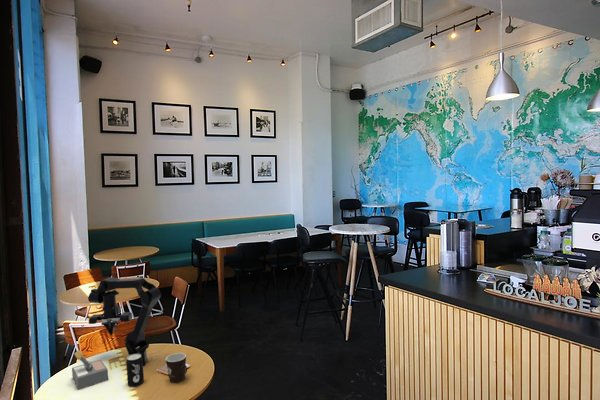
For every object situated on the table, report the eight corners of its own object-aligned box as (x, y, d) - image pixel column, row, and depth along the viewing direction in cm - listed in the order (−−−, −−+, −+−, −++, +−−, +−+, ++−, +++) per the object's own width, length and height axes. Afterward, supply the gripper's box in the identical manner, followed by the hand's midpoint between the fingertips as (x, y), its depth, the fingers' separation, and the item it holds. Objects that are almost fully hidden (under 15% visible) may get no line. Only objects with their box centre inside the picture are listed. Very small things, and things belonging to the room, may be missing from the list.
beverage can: (128, 388, 173) (126, 361, 172) (127, 382, 178) (125, 355, 178) (144, 384, 176) (143, 357, 175) (143, 378, 181) (141, 352, 181)
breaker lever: (91, 363, 185) (78, 349, 181) (93, 367, 181) (80, 353, 177) (87, 367, 184) (74, 353, 180) (89, 371, 180) (76, 357, 176)
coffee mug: (166, 377, 181) (164, 355, 181) (186, 372, 185) (184, 351, 184) (168, 389, 171) (167, 366, 170) (189, 384, 174) (188, 362, 173)
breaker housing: (101, 369, 191) (100, 359, 191) (108, 380, 181) (107, 368, 180) (72, 378, 184) (71, 367, 183) (78, 389, 173) (77, 378, 173)
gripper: (134, 297, 207) (136, 327, 208) (96, 300, 205) (98, 330, 206) (127, 304, 196) (129, 335, 197) (87, 307, 194) (89, 338, 195)
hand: (111, 334), depth 199 cm, fingers closed
